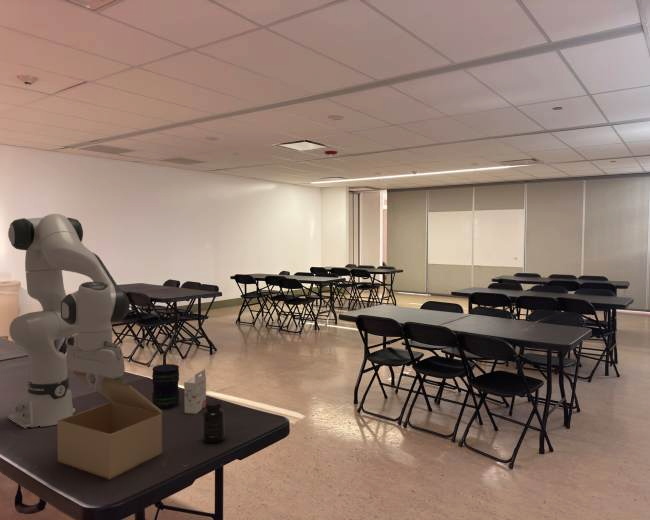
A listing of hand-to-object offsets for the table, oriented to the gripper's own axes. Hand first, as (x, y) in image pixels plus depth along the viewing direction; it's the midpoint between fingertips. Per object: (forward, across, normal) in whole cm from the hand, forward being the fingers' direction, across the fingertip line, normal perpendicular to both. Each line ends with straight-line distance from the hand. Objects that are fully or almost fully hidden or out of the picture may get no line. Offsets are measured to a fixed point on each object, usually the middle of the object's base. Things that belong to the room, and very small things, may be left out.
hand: (95, 388), depth 133 cm
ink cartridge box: (+22, +6, -47) cm, 52 cm away
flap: (+3, 0, -7) cm, 8 cm away
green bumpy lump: (+22, +46, -44) cm, 68 cm away
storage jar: (+22, +19, -45) cm, 53 cm away
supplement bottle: (+22, -18, -29) cm, 41 cm away
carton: (+22, 0, -5) cm, 22 cm away
